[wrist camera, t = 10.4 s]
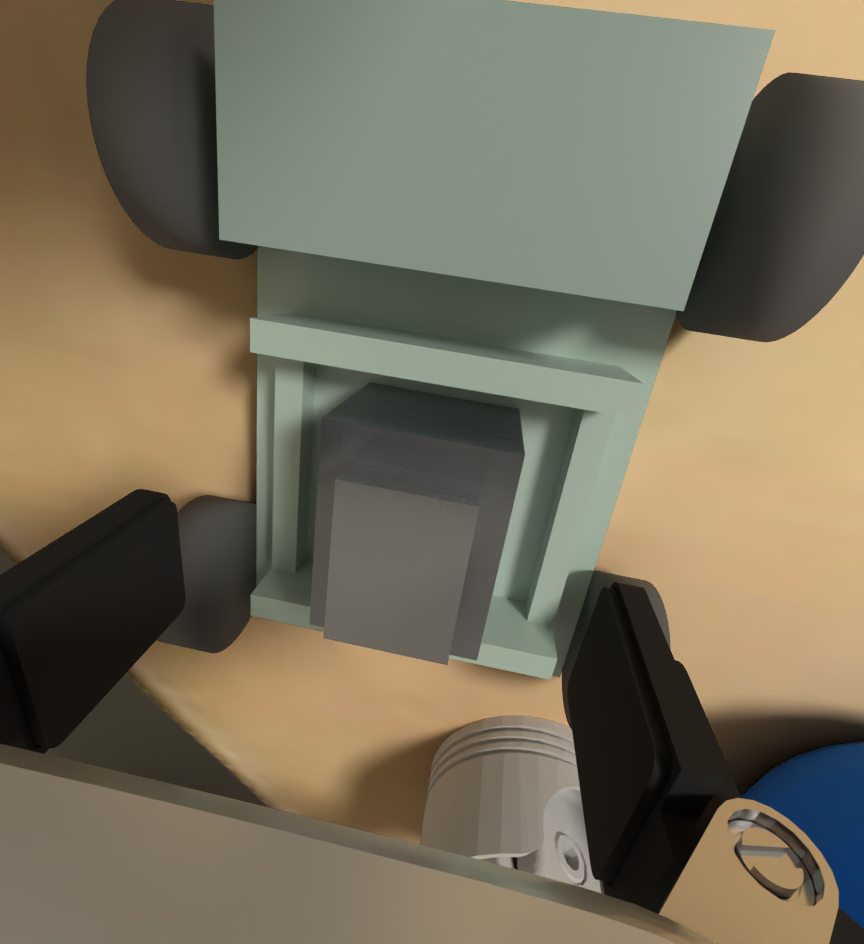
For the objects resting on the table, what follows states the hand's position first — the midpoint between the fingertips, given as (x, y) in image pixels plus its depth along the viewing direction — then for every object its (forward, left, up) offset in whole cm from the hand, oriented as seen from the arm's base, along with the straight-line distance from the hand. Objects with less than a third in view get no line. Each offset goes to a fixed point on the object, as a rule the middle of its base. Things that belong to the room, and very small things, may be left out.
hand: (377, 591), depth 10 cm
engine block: (+1, 0, -9) cm, 9 cm away
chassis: (-2, 0, -10) cm, 10 cm away
